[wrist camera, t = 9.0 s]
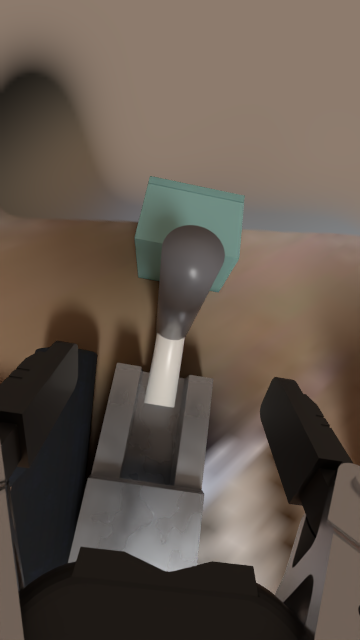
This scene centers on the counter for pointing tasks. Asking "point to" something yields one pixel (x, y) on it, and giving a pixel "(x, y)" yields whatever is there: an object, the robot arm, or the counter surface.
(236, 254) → the teal block
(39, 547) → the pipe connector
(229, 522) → the counter surface
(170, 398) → the grey piece
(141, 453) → the grey grooved block
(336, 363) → the counter surface
